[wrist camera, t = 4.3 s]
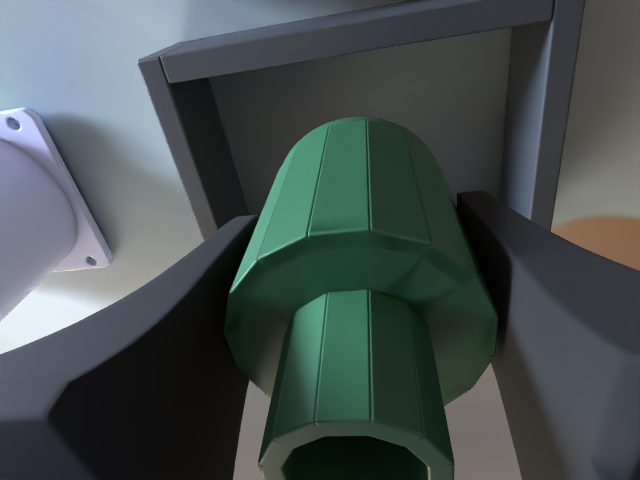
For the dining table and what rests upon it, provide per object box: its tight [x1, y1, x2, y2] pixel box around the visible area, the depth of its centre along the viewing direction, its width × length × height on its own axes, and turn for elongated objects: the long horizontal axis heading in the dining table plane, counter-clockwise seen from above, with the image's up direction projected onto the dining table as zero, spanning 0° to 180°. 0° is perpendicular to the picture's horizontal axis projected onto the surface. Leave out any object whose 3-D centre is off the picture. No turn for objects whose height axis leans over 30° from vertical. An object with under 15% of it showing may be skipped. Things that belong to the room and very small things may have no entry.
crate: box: [137, 0, 585, 241], centre depth 16 cm, size 13×10×4 cm
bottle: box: [223, 117, 499, 480], centre depth 9 cm, size 5×5×8 cm
